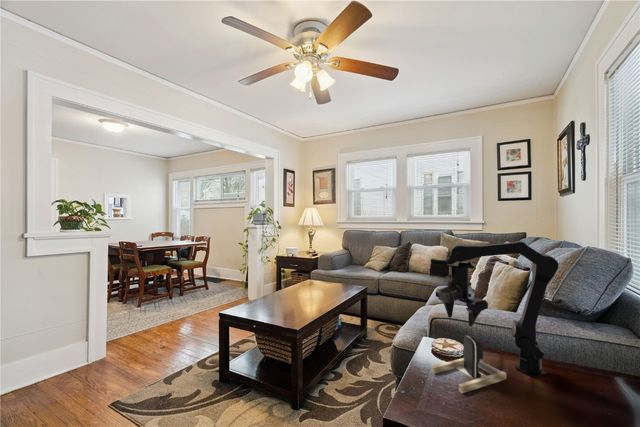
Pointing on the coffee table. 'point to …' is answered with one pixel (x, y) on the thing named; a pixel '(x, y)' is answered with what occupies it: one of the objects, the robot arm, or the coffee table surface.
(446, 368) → the guide channel
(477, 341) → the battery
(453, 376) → the coffee table surface
